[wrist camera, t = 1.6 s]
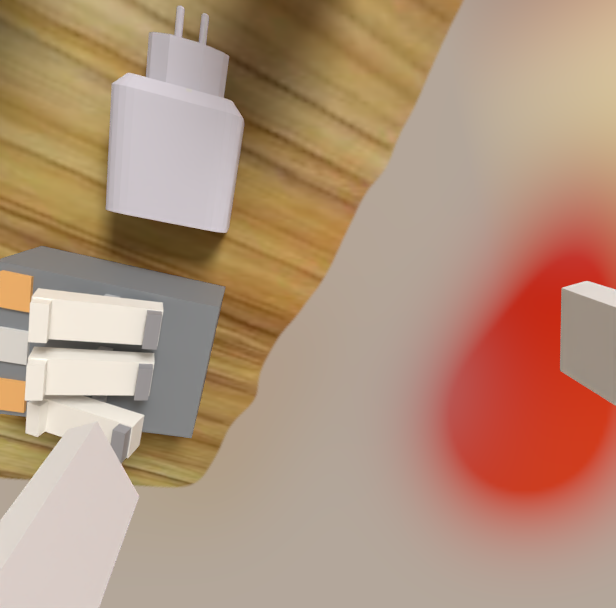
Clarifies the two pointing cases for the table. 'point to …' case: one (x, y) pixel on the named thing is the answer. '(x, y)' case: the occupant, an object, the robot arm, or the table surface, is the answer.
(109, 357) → the rocker
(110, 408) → the rocker
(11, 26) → the table surface
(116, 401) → the switch unit
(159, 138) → the charger
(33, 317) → the rocker
